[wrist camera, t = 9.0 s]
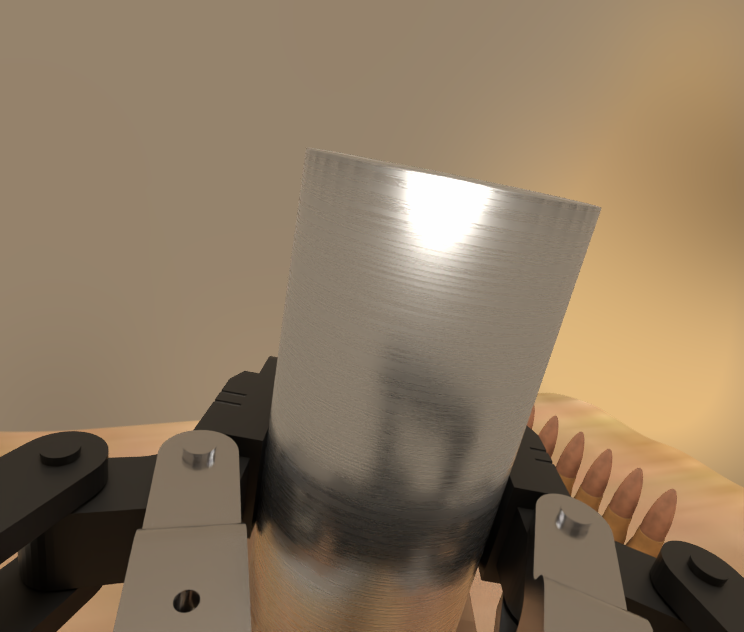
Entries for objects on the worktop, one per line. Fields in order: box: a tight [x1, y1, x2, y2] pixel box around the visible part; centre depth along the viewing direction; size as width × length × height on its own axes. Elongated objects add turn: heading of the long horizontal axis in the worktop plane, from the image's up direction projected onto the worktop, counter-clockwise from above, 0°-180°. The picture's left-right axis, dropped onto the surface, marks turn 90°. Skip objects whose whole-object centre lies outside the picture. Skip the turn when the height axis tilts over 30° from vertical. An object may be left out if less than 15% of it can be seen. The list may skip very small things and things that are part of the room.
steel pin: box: [249, 148, 601, 632], centre depth 10 cm, size 5×5×14 cm
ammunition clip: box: [527, 405, 677, 558], centre depth 29 cm, size 11×2×12 cm, turn 36°
